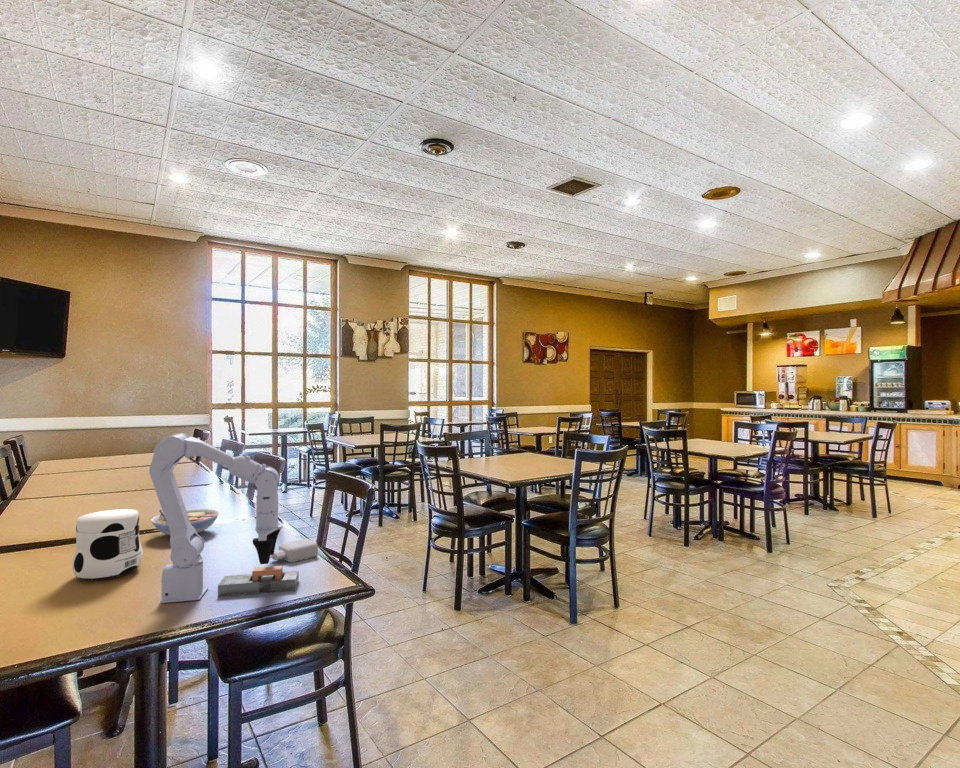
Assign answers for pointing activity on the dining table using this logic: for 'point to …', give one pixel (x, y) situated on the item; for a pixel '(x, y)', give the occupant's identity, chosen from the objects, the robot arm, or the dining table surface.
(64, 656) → the dining table surface
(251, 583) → the gray rectangular frame
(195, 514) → the ramen bowl
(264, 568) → the orange u-shaped block
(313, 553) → the charger
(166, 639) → the dining table surface
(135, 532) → the milk container
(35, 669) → the dining table surface
